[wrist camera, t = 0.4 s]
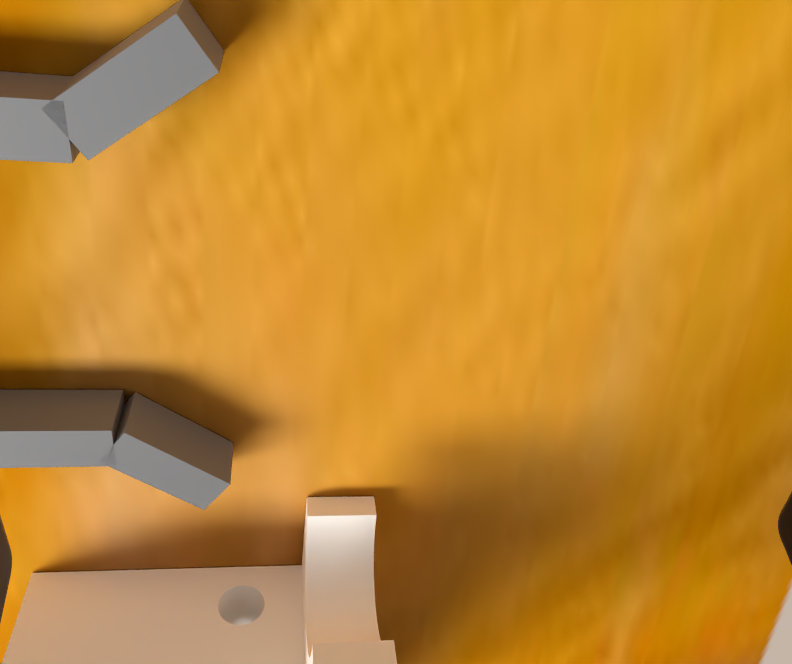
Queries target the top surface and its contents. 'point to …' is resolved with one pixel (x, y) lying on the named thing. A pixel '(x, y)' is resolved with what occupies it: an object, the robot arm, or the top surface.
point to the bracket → (218, 606)
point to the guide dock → (89, 134)
